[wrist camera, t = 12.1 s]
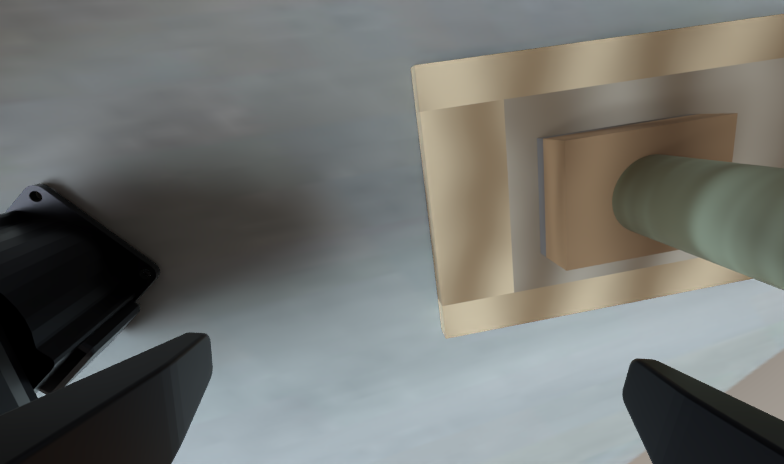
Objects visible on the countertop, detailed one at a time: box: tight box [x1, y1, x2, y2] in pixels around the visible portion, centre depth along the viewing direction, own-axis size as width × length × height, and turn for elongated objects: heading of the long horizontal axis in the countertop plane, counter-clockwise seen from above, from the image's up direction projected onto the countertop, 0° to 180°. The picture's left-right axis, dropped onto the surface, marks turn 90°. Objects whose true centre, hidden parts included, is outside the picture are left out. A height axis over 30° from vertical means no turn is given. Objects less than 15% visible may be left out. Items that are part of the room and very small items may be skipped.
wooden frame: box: [411, 14, 784, 339], centre depth 21 cm, size 22×14×1 cm, turn 98°
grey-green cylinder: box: [537, 113, 784, 290], centre depth 15 cm, size 8×6×11 cm
